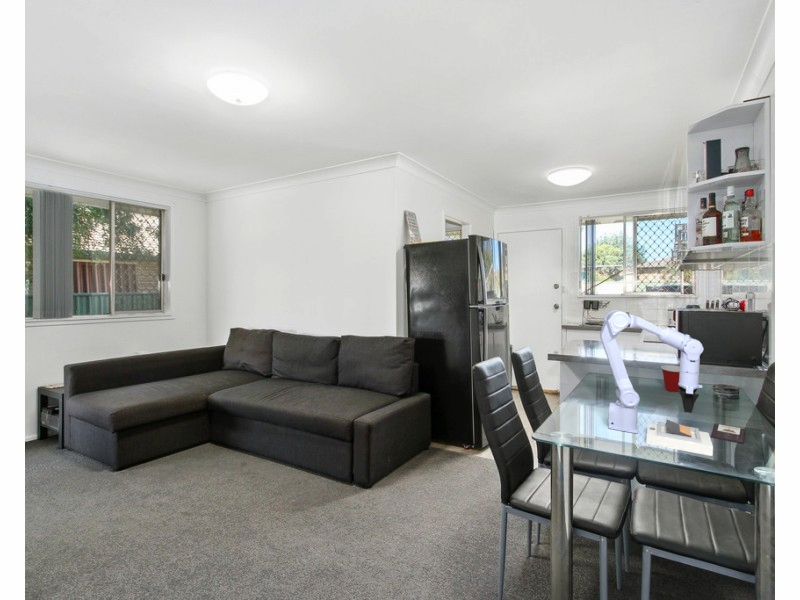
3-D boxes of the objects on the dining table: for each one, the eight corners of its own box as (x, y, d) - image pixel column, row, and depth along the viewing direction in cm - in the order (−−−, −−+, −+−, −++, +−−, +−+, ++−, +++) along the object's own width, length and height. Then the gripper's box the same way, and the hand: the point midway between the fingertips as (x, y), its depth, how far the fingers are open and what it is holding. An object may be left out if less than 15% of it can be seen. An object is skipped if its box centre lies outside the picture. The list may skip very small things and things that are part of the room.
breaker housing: (646, 443, 142) (646, 431, 141) (647, 430, 154) (648, 419, 154) (712, 456, 132) (713, 443, 132) (708, 441, 145) (708, 429, 145)
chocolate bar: (710, 436, 149) (714, 423, 162) (710, 438, 149) (714, 425, 162) (743, 442, 143) (744, 429, 156) (743, 445, 143) (744, 431, 156)
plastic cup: (658, 390, 213) (659, 367, 212) (660, 386, 221) (661, 364, 221) (684, 394, 206) (685, 370, 206) (685, 390, 215) (686, 367, 214)
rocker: (665, 432, 141) (667, 426, 141) (665, 424, 149) (667, 419, 148) (689, 441, 138) (691, 435, 137) (687, 433, 145) (690, 428, 145)
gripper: (704, 377, 141) (702, 416, 141) (701, 369, 153) (699, 406, 154) (679, 374, 145) (677, 413, 145) (678, 367, 157) (676, 403, 157)
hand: (687, 409), depth 150 cm, fingers open, 7 cm apart
